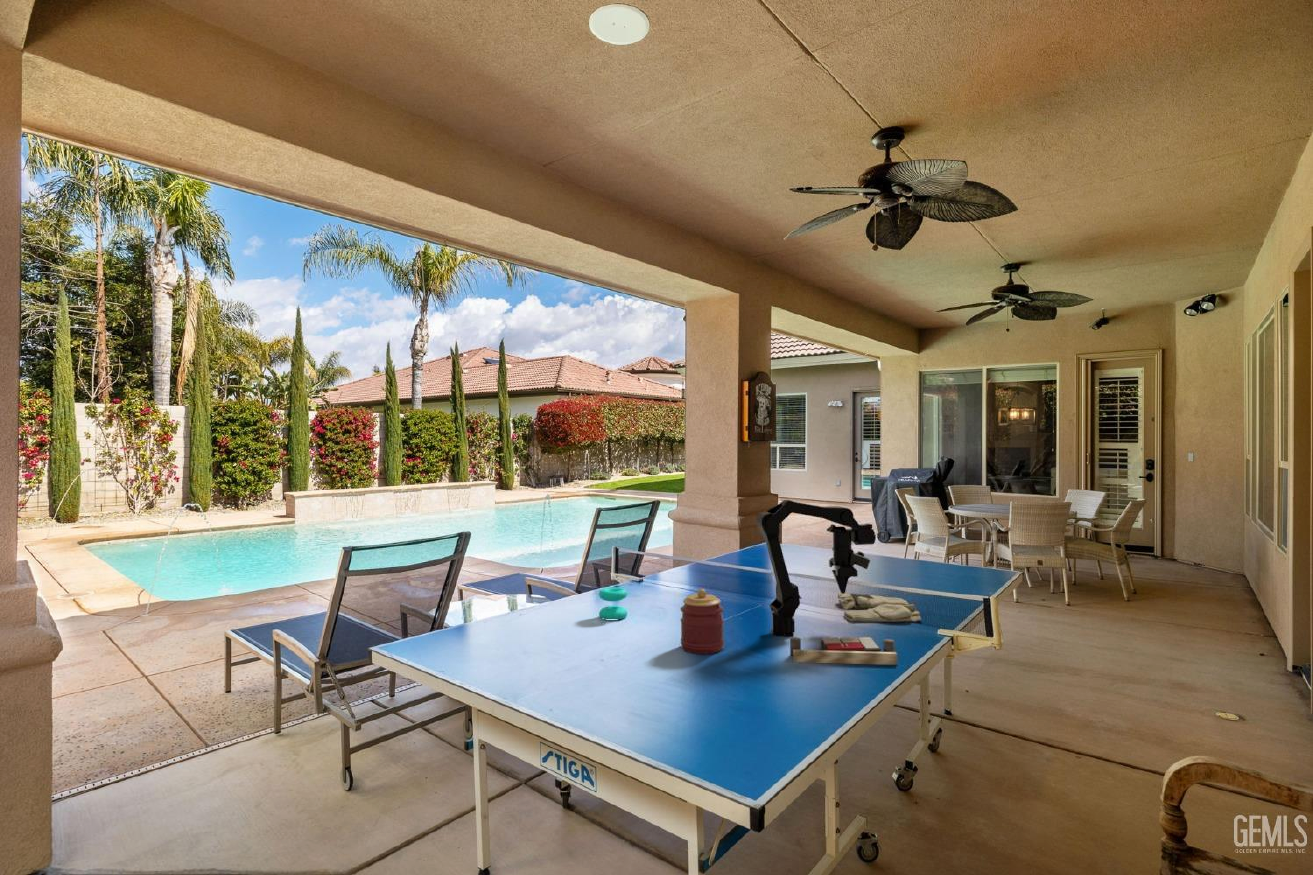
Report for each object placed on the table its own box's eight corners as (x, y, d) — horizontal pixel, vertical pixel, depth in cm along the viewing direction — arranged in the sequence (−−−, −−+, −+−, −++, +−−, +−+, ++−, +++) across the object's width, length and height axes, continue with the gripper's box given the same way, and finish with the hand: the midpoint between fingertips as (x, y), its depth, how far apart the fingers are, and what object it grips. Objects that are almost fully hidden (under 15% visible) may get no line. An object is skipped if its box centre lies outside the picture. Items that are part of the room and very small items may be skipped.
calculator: (820, 636, 196) (871, 635, 195) (821, 651, 196) (872, 649, 195) (826, 648, 185) (881, 646, 184) (827, 663, 185) (882, 661, 184)
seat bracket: (791, 661, 184) (791, 644, 184) (789, 654, 190) (789, 636, 190) (899, 664, 180) (898, 646, 180) (893, 656, 187) (892, 639, 187)
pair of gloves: (835, 602, 253) (834, 589, 253) (904, 603, 249) (904, 590, 249) (847, 624, 223) (847, 608, 223) (926, 625, 219) (926, 610, 219)
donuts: (631, 590, 230) (604, 593, 226) (631, 619, 230) (604, 622, 226) (620, 585, 239) (594, 588, 235) (621, 612, 239) (595, 616, 235)
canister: (732, 647, 197) (732, 588, 198) (705, 657, 188) (705, 596, 188) (699, 638, 206) (698, 582, 206) (671, 648, 197) (671, 589, 197)
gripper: (874, 550, 204) (874, 600, 204) (862, 541, 223) (862, 587, 222) (837, 550, 205) (837, 600, 205) (828, 541, 224) (829, 586, 224)
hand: (842, 593), depth 214 cm, fingers closed
